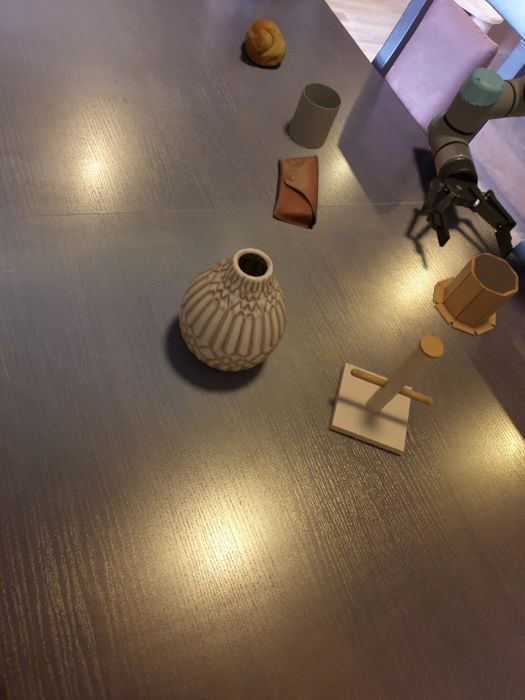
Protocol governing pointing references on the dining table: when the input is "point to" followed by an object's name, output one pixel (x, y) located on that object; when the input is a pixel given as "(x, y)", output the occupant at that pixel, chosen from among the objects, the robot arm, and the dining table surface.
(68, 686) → the dining table surface
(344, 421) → the stand
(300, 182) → the sunglasses case
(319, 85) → the cup
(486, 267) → the hat
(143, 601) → the dining table surface
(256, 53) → the bread roll
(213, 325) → the vase
